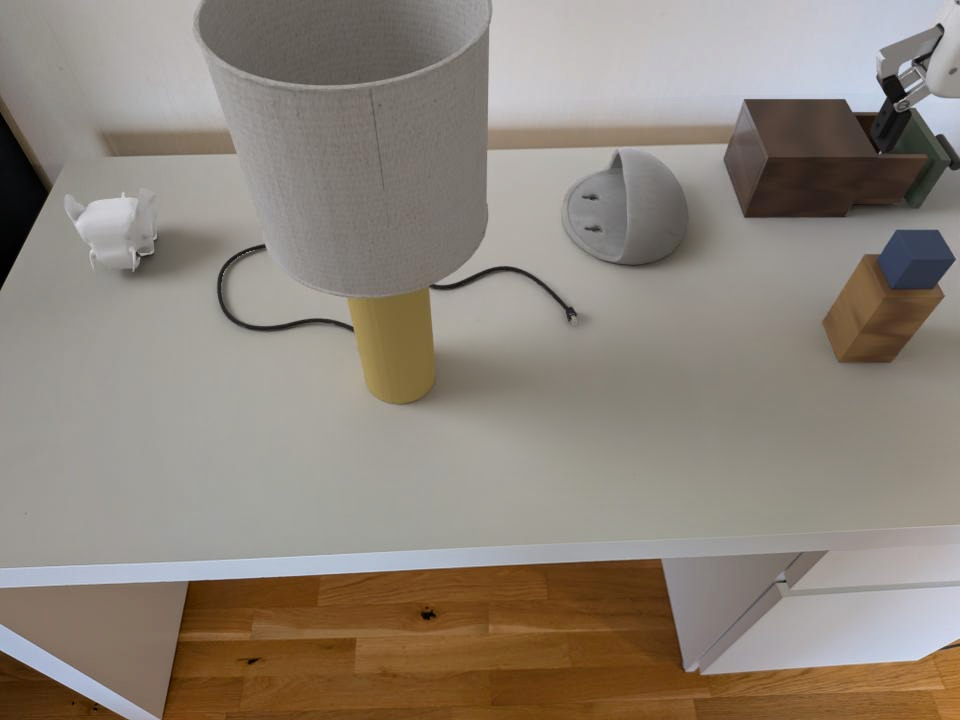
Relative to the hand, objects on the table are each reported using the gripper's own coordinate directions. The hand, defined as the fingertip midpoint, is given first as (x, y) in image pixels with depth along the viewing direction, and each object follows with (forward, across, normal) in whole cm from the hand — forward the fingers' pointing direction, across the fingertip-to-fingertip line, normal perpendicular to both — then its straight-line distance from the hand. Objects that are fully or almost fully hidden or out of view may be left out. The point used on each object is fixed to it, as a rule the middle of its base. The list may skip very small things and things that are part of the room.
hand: (933, 143), depth 60 cm
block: (+14, +3, -3) cm, 14 cm away
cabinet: (+24, +2, +24) cm, 35 cm away
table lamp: (+24, -50, 0) cm, 56 cm away
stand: (+24, +3, -3) cm, 25 cm away
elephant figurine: (+24, -84, +12) cm, 89 cm away
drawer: (+24, +14, +24) cm, 37 cm away
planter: (+25, -21, +18) cm, 37 cm away
